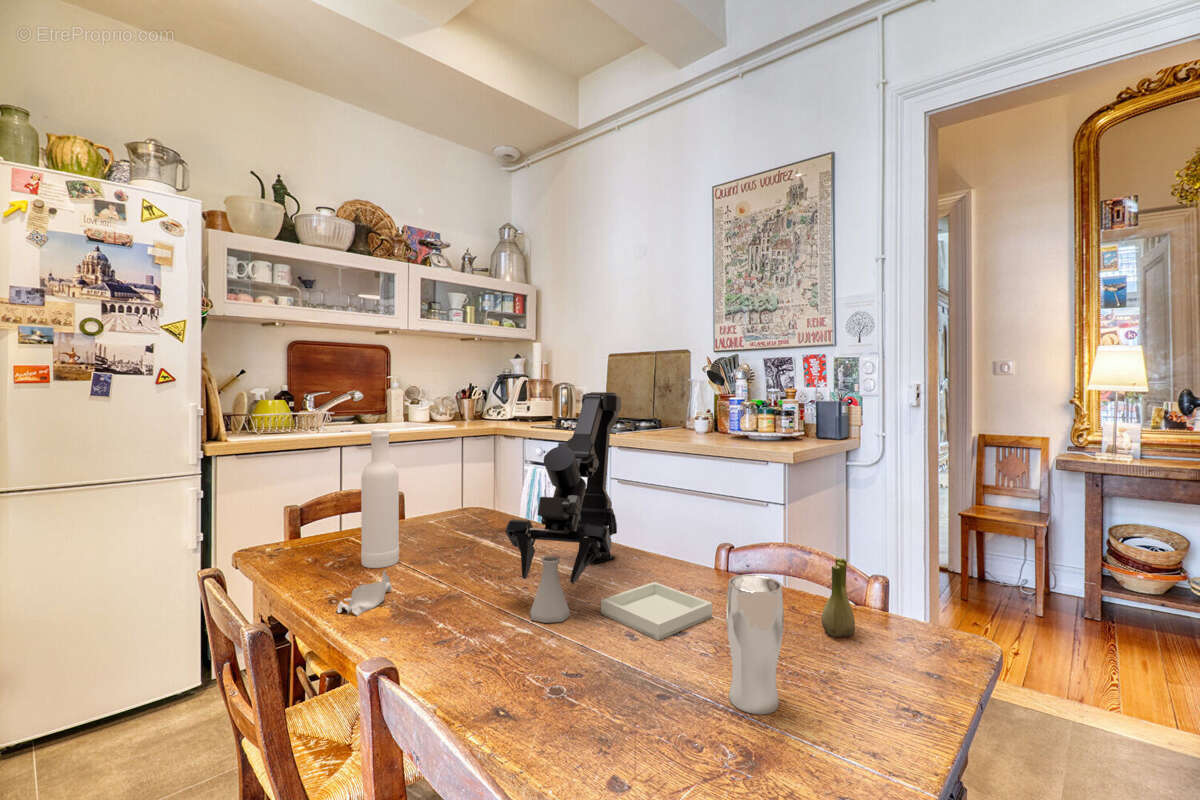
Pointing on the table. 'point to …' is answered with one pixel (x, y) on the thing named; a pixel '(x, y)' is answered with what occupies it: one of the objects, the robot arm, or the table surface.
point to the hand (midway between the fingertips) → (547, 580)
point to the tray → (656, 610)
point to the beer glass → (754, 641)
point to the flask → (550, 595)
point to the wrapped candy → (366, 596)
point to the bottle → (380, 506)
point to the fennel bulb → (838, 605)
